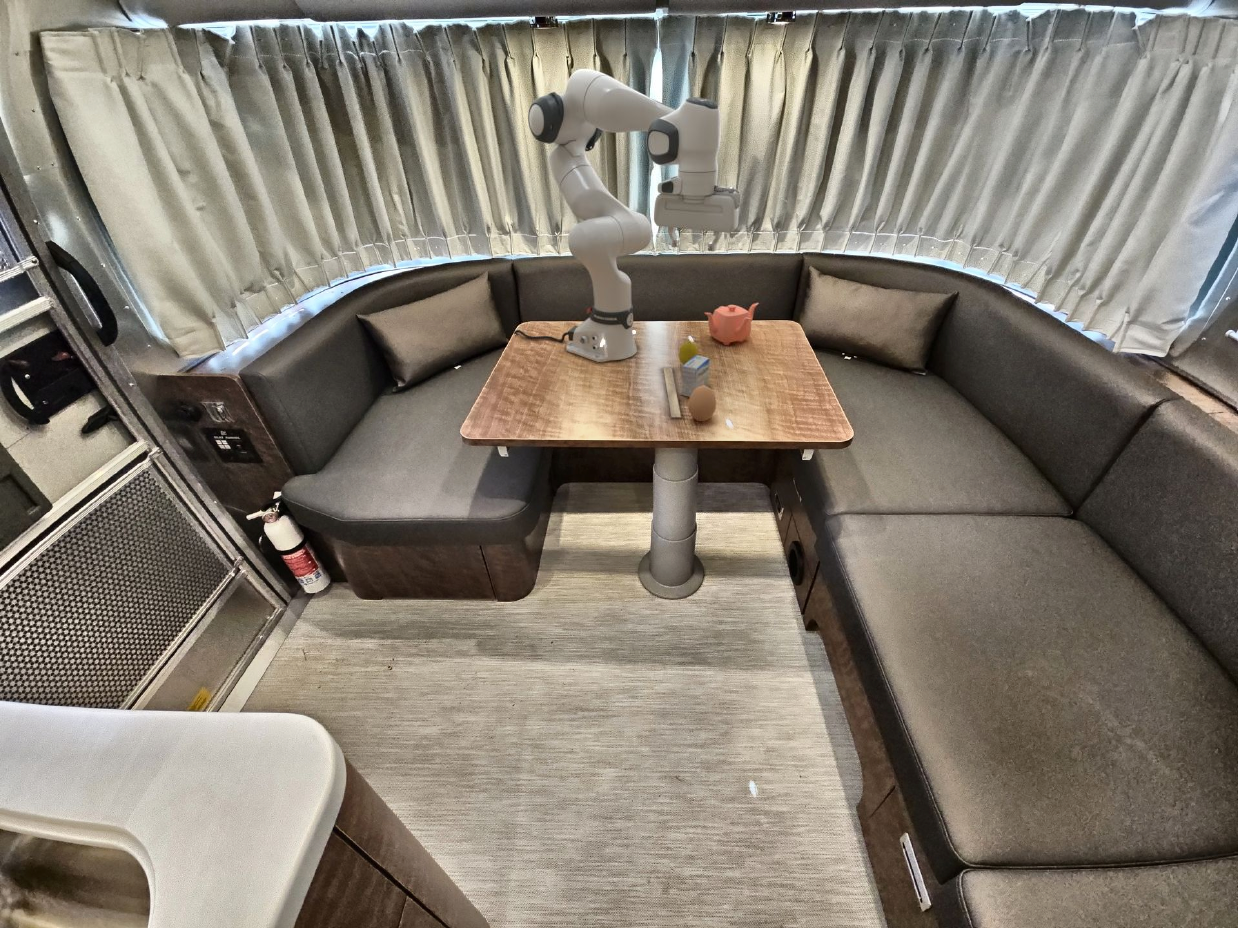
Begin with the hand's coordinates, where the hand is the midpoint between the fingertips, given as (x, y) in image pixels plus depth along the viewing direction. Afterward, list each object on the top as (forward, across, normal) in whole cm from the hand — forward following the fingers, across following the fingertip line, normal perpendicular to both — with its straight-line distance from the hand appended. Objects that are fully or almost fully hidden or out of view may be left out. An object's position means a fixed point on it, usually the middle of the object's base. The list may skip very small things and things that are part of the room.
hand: (693, 248), depth 128 cm
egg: (+35, -12, +18) cm, 41 cm away
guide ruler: (+35, +1, +8) cm, 36 cm away
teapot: (+35, -1, -32) cm, 48 cm away
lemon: (+35, +3, -8) cm, 36 cm away
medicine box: (+35, -5, +5) cm, 36 cm away
